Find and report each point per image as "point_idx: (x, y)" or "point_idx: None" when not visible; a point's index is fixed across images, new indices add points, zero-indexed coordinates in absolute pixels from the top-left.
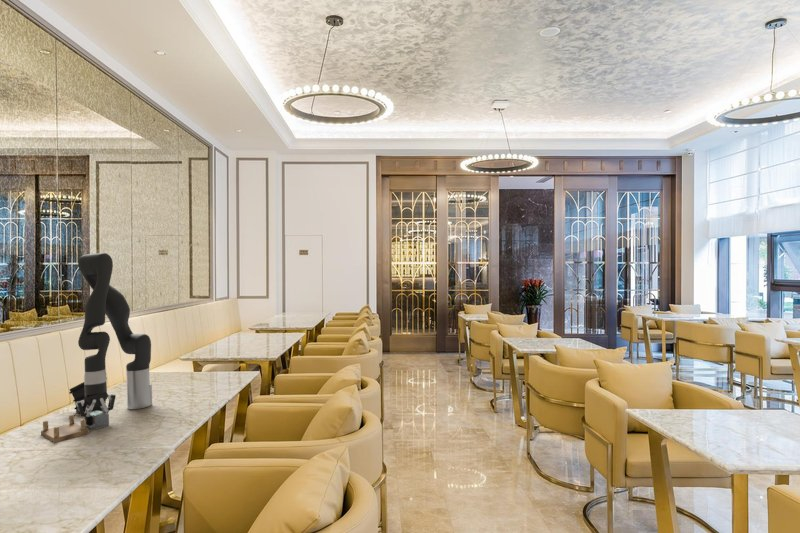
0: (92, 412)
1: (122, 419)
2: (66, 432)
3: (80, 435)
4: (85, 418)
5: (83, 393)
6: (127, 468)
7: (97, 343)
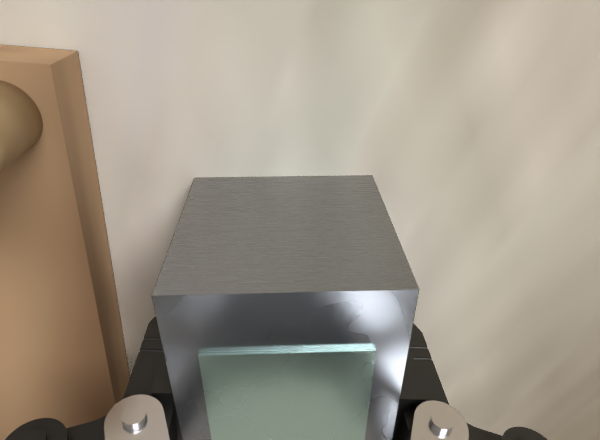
0: (277, 355)
1: (558, 308)
2: None
3: None
4: (134, 393)
5: None
6: None
7: None
